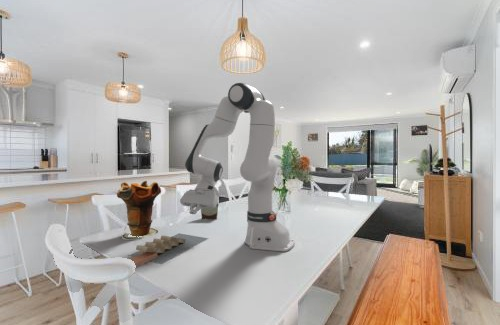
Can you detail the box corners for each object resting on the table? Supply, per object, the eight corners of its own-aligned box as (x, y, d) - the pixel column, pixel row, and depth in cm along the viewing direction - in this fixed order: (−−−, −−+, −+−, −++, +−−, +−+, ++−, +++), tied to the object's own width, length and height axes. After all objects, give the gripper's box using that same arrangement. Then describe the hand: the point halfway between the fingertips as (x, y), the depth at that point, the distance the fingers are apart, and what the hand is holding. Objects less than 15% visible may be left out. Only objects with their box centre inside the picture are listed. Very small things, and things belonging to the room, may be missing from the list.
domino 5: (176, 237, 111) (161, 235, 103) (185, 239, 109) (170, 236, 101) (176, 241, 111) (160, 239, 102) (184, 242, 108) (169, 240, 100)
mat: (208, 240, 114) (208, 238, 114) (161, 266, 88) (161, 264, 88) (179, 234, 122) (179, 233, 122) (127, 257, 96) (127, 255, 96)
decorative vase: (147, 224, 140) (147, 175, 138) (170, 234, 125) (170, 180, 123) (108, 233, 124) (107, 179, 122) (129, 246, 109) (128, 185, 107)
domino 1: (156, 246, 100) (137, 245, 92) (165, 248, 98) (146, 247, 90) (155, 250, 100) (135, 249, 91) (164, 253, 98) (145, 251, 89)
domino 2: (148, 250, 96) (125, 260, 87) (157, 252, 94) (135, 263, 85) (148, 254, 97) (125, 264, 88) (157, 256, 94) (135, 267, 85)
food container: (221, 216, 156) (221, 201, 155) (219, 219, 150) (218, 203, 149) (202, 216, 157) (202, 201, 157) (199, 219, 151) (199, 203, 150)
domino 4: (170, 240, 108) (153, 238, 99) (179, 242, 105) (163, 240, 97) (169, 244, 107) (152, 242, 99) (178, 246, 105) (161, 244, 96)
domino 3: (163, 243, 104) (145, 241, 96) (172, 245, 102) (155, 243, 93) (162, 247, 103) (144, 245, 95) (171, 249, 101) (154, 247, 93)
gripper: (184, 185, 127) (172, 208, 119) (217, 187, 119) (206, 211, 110) (190, 193, 132) (178, 215, 123) (223, 194, 123) (212, 218, 114)
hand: (192, 213), depth 117 cm, fingers closed
